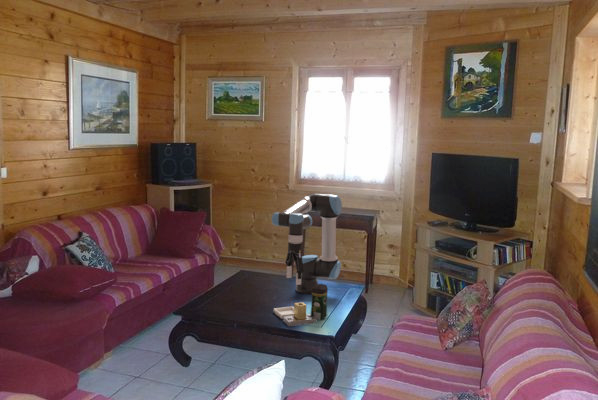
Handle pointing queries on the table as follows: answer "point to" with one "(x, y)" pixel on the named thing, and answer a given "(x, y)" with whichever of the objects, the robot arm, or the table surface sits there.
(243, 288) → the table surface
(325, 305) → the coffee jar
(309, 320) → the rail
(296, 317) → the block
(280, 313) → the tray
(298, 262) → the robot arm
